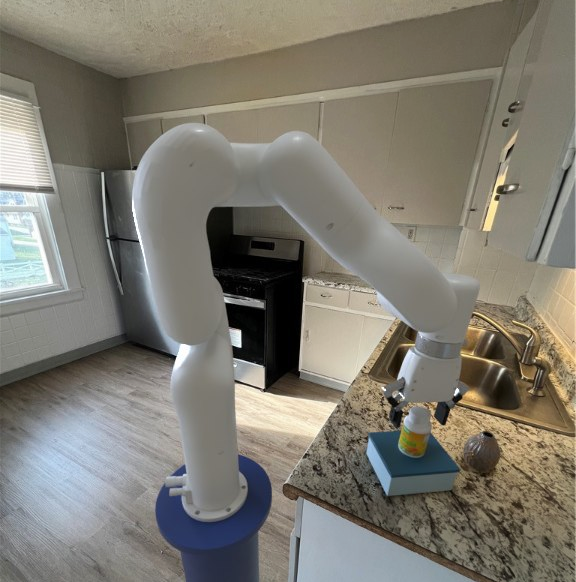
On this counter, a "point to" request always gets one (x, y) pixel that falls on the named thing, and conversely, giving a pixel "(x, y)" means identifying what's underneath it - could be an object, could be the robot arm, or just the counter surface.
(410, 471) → the blue two-tone box
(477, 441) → the vase
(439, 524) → the counter surface
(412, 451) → the supplement bottle
